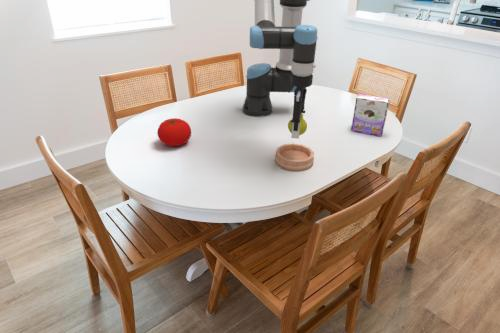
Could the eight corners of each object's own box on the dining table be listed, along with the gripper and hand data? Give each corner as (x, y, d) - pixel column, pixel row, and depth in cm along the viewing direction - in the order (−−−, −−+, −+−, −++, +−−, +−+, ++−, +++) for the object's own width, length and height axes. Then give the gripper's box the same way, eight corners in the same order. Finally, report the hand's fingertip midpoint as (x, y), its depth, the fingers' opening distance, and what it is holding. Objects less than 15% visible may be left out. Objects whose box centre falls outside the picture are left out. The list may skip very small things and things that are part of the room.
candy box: (383, 132, 172) (390, 98, 164) (381, 137, 167) (388, 102, 159) (352, 126, 177) (358, 93, 168) (350, 131, 172) (356, 97, 164)
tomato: (180, 133, 167) (178, 111, 161) (198, 143, 159) (196, 120, 154) (152, 143, 158) (149, 120, 153) (169, 154, 150) (167, 130, 145)
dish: (271, 167, 142) (272, 158, 140) (278, 150, 155) (279, 141, 153) (310, 173, 139) (312, 164, 137) (315, 155, 152) (316, 146, 150)
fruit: (292, 140, 137) (295, 109, 131) (284, 132, 143) (286, 102, 136) (309, 137, 140) (312, 106, 134) (299, 129, 145) (302, 100, 139)
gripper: (309, 83, 120) (303, 146, 132) (316, 66, 137) (309, 124, 148) (286, 80, 122) (282, 143, 133) (295, 65, 138) (291, 122, 150)
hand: (296, 133), depth 141 cm, fingers closed on fruit, 7 cm apart
